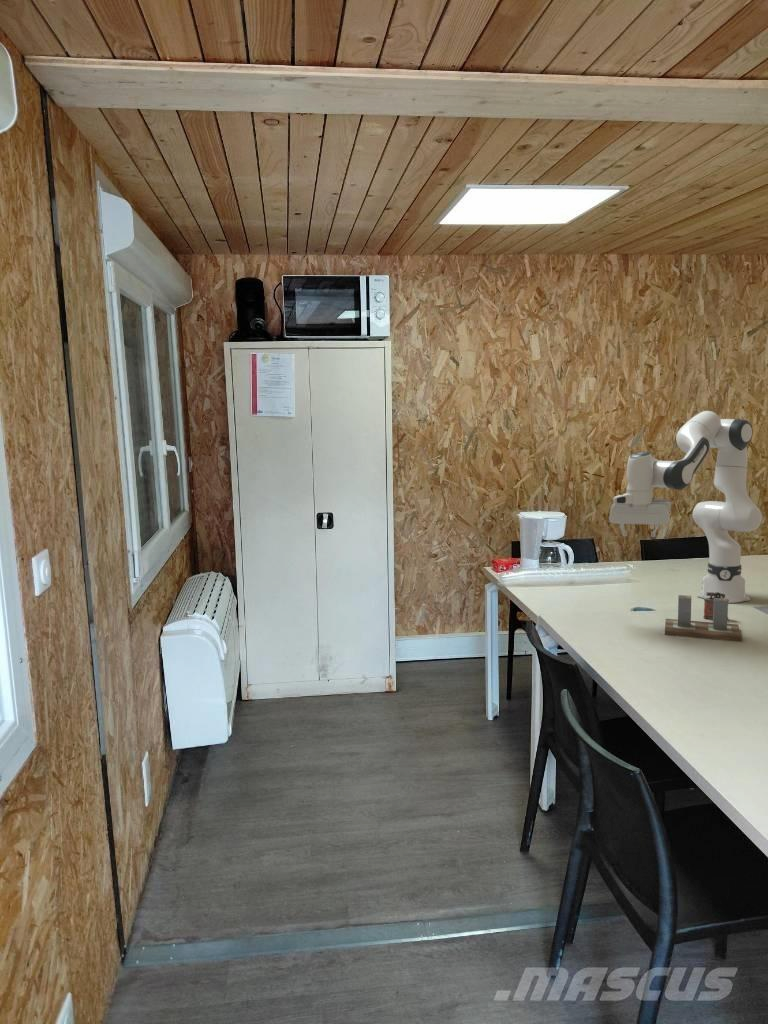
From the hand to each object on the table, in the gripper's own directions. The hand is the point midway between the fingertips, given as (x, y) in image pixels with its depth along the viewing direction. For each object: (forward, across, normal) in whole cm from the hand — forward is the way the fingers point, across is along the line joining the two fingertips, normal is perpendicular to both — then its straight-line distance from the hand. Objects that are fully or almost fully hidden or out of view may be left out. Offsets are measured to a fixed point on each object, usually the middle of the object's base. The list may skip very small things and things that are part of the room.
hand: (638, 536), depth 236 cm
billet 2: (+29, -26, +7) cm, 40 cm away
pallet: (+31, -21, +7) cm, 38 cm away
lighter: (+31, -26, -10) cm, 42 cm away
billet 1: (+29, -15, +7) cm, 34 cm away
